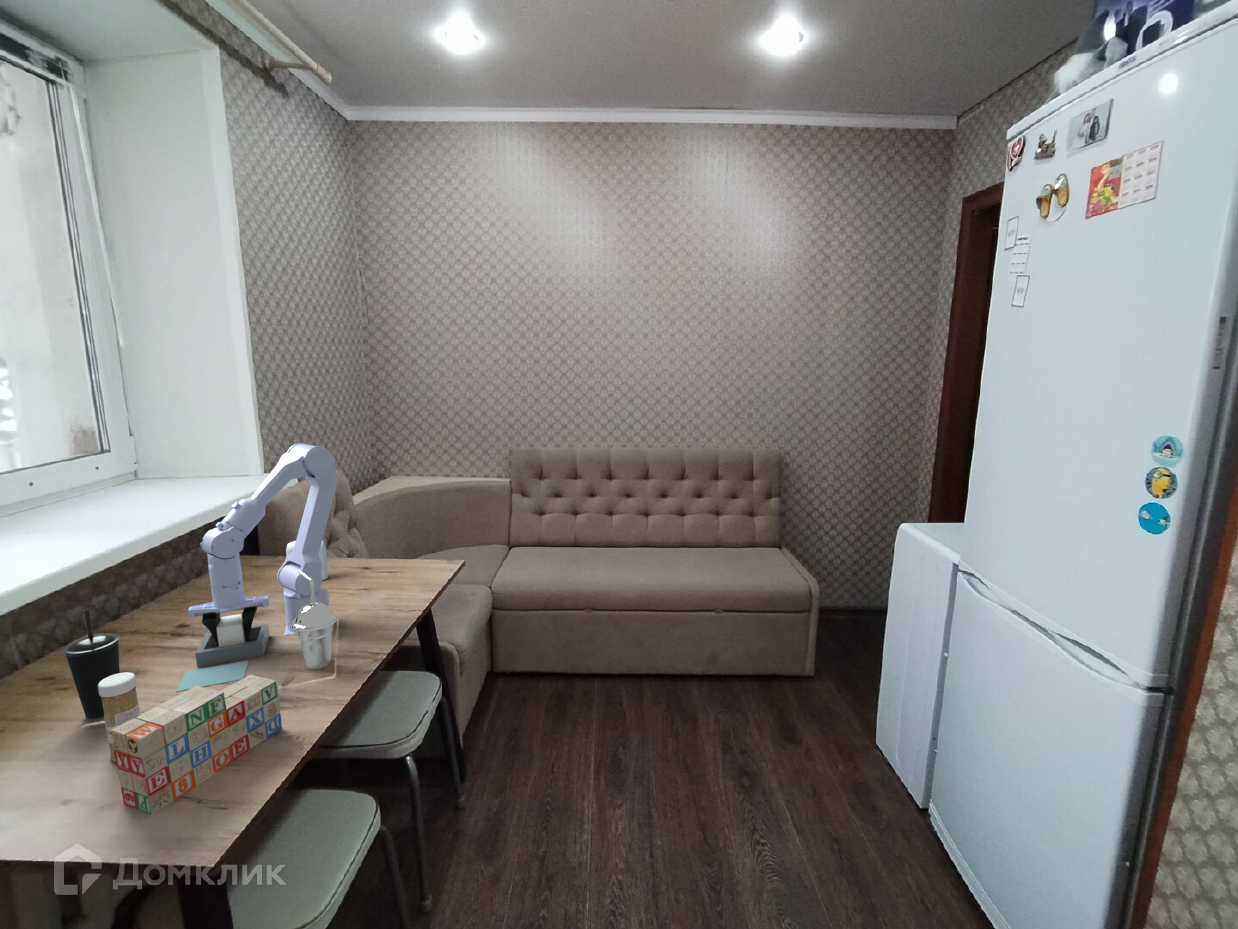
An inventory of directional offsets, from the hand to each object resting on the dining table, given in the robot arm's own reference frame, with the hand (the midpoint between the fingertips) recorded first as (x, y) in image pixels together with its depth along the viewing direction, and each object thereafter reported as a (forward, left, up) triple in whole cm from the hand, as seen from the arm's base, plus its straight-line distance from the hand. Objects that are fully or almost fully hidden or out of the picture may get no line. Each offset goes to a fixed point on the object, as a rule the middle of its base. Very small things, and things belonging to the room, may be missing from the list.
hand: (234, 642), depth 129 cm
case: (0, 0, -2) cm, 2 cm away
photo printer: (-12, -42, -3) cm, 43 cm away
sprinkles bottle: (+10, +32, -3) cm, 34 cm away
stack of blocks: (-3, +40, -3) cm, 41 cm away
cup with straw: (-17, +14, -3) cm, 22 cm away
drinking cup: (+18, +16, -3) cm, 25 cm away
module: (0, 0, -2) cm, 2 cm away
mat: (+2, +10, -2) cm, 11 cm away
